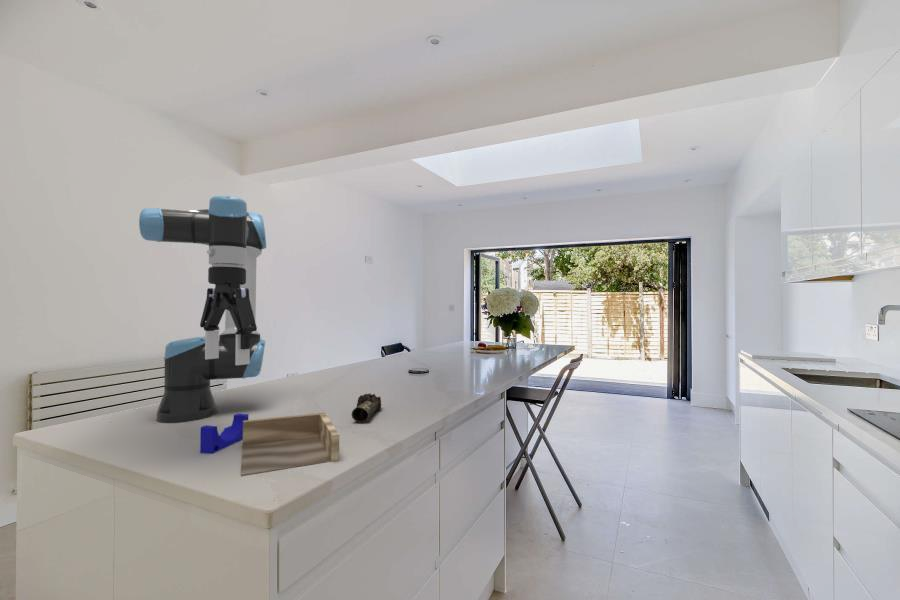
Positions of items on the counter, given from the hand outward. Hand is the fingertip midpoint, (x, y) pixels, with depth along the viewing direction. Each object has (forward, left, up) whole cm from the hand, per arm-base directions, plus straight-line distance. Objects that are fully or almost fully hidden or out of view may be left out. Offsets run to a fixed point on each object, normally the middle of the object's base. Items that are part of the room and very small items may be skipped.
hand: (226, 361), depth 95 cm
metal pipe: (-11, +33, -23) cm, 42 cm away
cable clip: (-6, -1, -21) cm, 22 cm away
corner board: (+8, +12, -20) cm, 25 cm away
